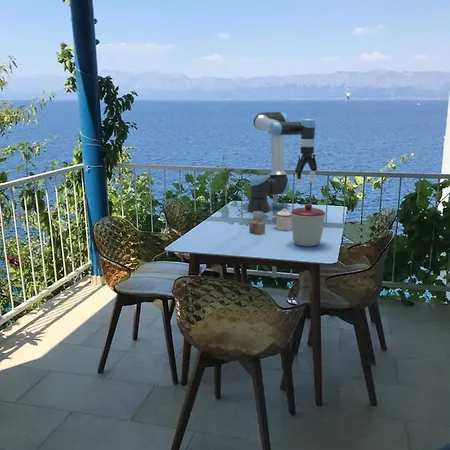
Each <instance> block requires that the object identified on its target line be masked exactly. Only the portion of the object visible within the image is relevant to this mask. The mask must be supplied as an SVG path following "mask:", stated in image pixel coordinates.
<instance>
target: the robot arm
mask: <svg viewBox="0 0 450 450" xmlns="http://www.w3.org/2000/svg"><path fill="white" fill-rule="evenodd" d="M253 126H254V127H255V129H257V130H259V131H267V132H268V134H269V135H270V153H271V154H270V155H271V156H270V158H271V159H270V161H271V162H270V163H271V172H270V173H269V175H267V174H260V175H259V174H258V175H255V176H253V177H251V178H250V181H249V182H250V183H249V187H250V188H249V191H250V192H249V202H248V203H247V204H248V205H247V207H246V208H247V209H246V211H247V212H250V213H253V211H262V212H263V214H264V213H268V212H270V210H271V208H270V204H269V201H268V200H269V199H268V196H271V195H285V194H287V193H288V192H289V190H290V187H291V179H290V177H289V176H287V175H288V174H287V173H286V171H285V138H284V137H285V136H300V146H301V147H300V154H301V155H298V161H297V164H296V167H295V170H294V172H295V173H296V175H297V176H296V177H297V178H296V179H297V180H296V182H297V183H296V185H299V186H302V185H303V170H304V168H305V166H306V165H308V167H309V169H310V170H309V182H310V183H314V182H315V172H317V170H318V166H317V160H316V154H314V153H315V147H314V146H315V132H316V119H315V118H302V119H301V120H300V121H299V120H298V121H290V119H289V116H288V114H287V113H286V112H281V111H270V112H269V111H268V112H267V111H265V112H259V113H258V114H256V115H254V117H253Z"/></svg>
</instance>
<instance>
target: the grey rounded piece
mask: <svg viewBox="0 0 450 450" xmlns="http://www.w3.org/2000/svg"><path fill="white" fill-rule="evenodd" d="M253 221H258V222H263V223H264V213H263V212H262V211H253V212H252V222H253Z"/></svg>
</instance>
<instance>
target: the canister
mask: <svg viewBox="0 0 450 450" xmlns="http://www.w3.org/2000/svg"><path fill="white" fill-rule="evenodd" d="M289 212H290V214H291V217H292V228H291V230H292V239H293V241H294V242H293V243H295V244H296V245H298V246H300V247H316V246H319V244H320V243H321V240H322V235H323V231H324V224H325V218H326V216H327V212H326V211H324V210H323V209H320V208H317V207H313V205H312V203H306V204H305V205H304V207H296V208H294V209H292V210H291V211H289Z"/></svg>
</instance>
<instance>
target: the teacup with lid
mask: <svg viewBox="0 0 450 450" xmlns="http://www.w3.org/2000/svg"><path fill="white" fill-rule="evenodd" d="M273 218H276V222H274V220H273ZM271 223H272V224H273V225H276V227H275V228H276V230H279V231H283V232H287V231H290V230H292V217H291V214H290V211H288V210H287V209H286V208H282V210H281V211H278V212H276V214H275V215H273V216H272V217H271Z"/></svg>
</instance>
